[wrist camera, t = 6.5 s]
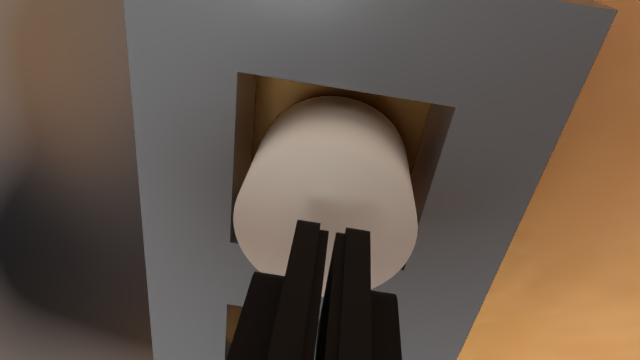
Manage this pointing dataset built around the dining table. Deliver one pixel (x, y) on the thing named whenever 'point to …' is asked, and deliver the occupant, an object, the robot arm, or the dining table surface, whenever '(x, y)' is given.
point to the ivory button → (328, 186)
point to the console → (363, 76)
